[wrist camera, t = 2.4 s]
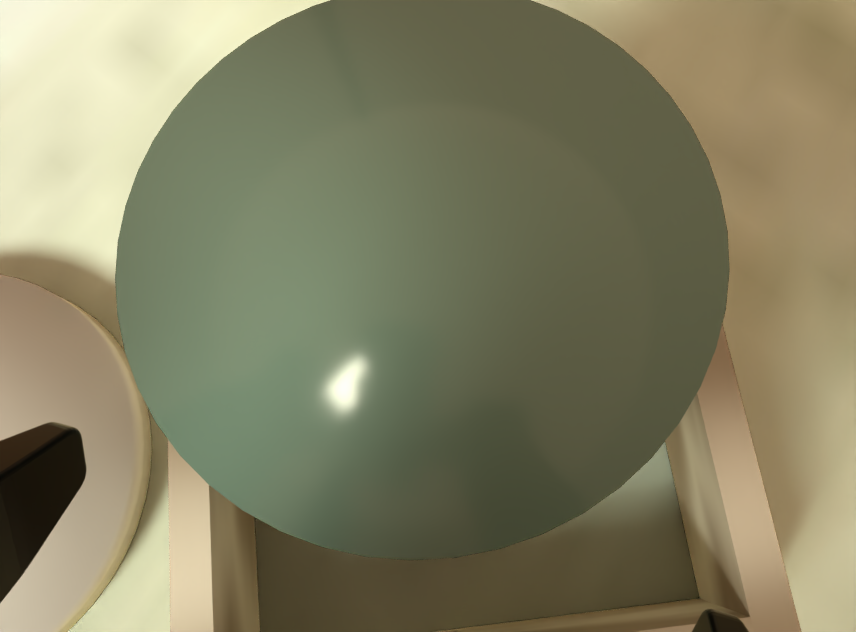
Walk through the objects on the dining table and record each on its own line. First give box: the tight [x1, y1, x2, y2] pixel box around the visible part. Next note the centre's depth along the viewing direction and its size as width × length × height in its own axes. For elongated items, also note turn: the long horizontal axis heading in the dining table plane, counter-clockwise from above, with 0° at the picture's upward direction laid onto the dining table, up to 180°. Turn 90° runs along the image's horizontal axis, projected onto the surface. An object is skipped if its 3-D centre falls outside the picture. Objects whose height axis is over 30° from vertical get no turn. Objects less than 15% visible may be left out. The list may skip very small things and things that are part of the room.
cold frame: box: [168, 325, 801, 632], centre depth 19 cm, size 14×14×4 cm
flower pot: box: [115, 0, 729, 560], centre depth 14 cm, size 7×7×13 cm
